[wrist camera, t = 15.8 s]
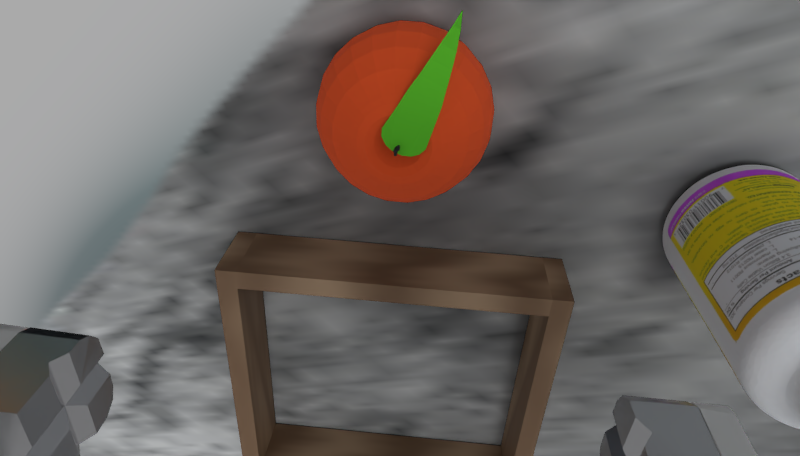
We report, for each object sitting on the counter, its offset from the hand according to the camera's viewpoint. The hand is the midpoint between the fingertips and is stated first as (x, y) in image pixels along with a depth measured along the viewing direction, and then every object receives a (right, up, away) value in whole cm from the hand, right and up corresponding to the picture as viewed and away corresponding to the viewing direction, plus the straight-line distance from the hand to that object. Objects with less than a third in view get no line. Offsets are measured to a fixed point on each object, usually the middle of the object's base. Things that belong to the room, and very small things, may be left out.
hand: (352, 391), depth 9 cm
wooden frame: (0, -5, +25) cm, 25 cm away
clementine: (+2, +9, +16) cm, 19 cm away
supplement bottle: (+17, +3, +18) cm, 25 cm away
